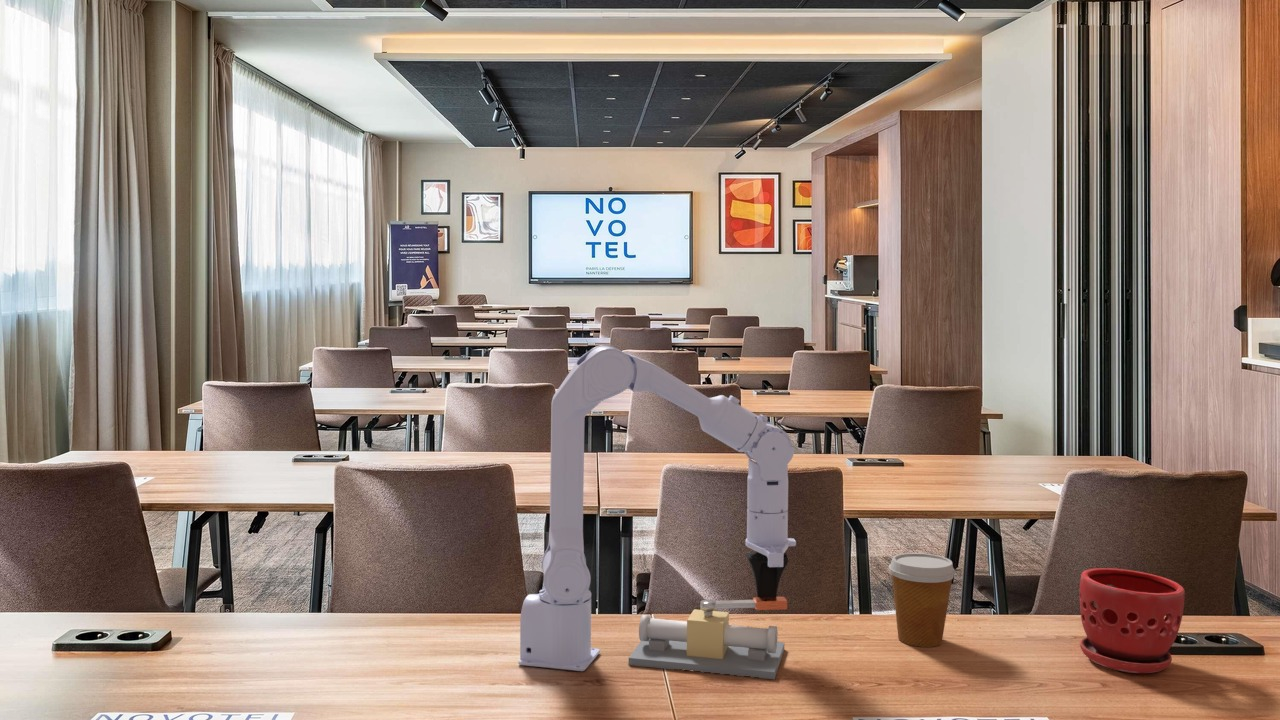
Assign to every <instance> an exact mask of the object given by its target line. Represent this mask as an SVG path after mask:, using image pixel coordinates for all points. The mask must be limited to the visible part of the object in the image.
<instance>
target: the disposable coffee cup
mask: <svg viewBox="0 0 1280 720" xmlns="http://www.w3.org/2000/svg"><path fill="white" fill-rule="evenodd" d="M953 565H954V564H953V561H952V560H951V559H950V558H948V557H944V556H942V555H941V556H940V555H938V554H937V555H936V554H931V553H923V552H921V553H920V552H904V553H897V554H896V555H893V556H892V558H891V562H890V564H889V565H888V569H889V572H890V574H891V578H892V580H891V581H892V589H893V599H894V606H895V607H894V608H895V609H894V611H895V619H896V628H897V638H898V640H899V641H900V642H902V643H903V644H906V645H910V646H914V647H918V648H919V647H920V648H931V647H932V648H933V647H936V646H941V644H943V638H944V631H945V625H946V619H947V613H948V607H949V600H950V599H949V598H950V593H951V588H952V587H951V586H952V581H953V579H954V576H955V575H956V569H955V568H954V566H953Z"/></svg>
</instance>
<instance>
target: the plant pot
mask: <svg viewBox="0 0 1280 720" xmlns="http://www.w3.org/2000/svg"><path fill="white" fill-rule="evenodd" d="M1111 585H1112V586H1111ZM1078 592H1079V596H1078V597H1079V607H1080V608H1079V609H1080V619H1081V620H1080V621H1081V623H1082V627H1083V630H1084V633H1085V635H1086V637H1083V638H1082V639H1081V640H1080V642H1079V647H1080V650H1081V651H1082V652H1083V653H1082V654H1084V655H1085V656H1086V658H1088V659H1089V660H1091V661H1092V662H1093V664H1095V665H1099V666H1101V667H1102V666H1103V667H1104V668H1107V669H1111V670H1115V671H1119V672H1122V673H1127V674H1128V673H1130V674H1151V673H1158V672H1161V671H1163V670H1165V669H1167V668H1168V667H1169V666H1170V665H1171V663H1172V661H1173V657H1172V654H1171V653H1170V649H1171V647H1172V646H1173V645H1174V643H1175V641H1176V639H1177V637H1178V633H1179V630H1180V627H1181V625H1182V620H1183V616H1184V615H1183V614H1184V607H1185V595H1186V594H1185V593H1186V590H1185V589H1184V587H1183V586H1182V585H1180V584H1179V583H1178V582H1177V581H1174V580H1172V579H1169V578H1167V577H1164V576H1160V575H1155V574H1152V573H1148V572H1142V571H1138V570H1137V571H1136V570H1131V569H1124V568H1123V569H1121V568H1114V567H1113V568H1111V567H1110V568H1109V567H1108V568H1105V567H1104V568H1102V567H1101V568H1100V567H1099V568H1090V569H1086V570H1084V571H1082V573H1081V575H1080V582H1079V591H1078ZM1094 603H1095V604H1096V606H1095V605H1094Z"/></svg>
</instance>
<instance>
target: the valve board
mask: <svg viewBox="0 0 1280 720" xmlns="http://www.w3.org/2000/svg"><path fill="white" fill-rule="evenodd" d="M729 617H730V613H729V611H718V610H715V611H710V612H708V611H702V610H701V609H693V610H692V612H691V614H690V615H689V616H688V617H687V620H685V621H684V620H673V619H662V618H653V617H652V616H651V615H650V614H642V615H641V617H640V620H639V625H638V637H639V641H640V642H639V643H638V645H637V646H636V647H635V648H634V650H633V651H632V653H631V654H630V656H628V666H635V667H644V668H646V667H648V668H653V669H654V668H655V669H656V668H657V669H665V670H674V669H678V670H677V671H680V670H679V669H682V670H681V671H684V670H683V669H685V670H693V671H692V672H694V671H702V672H701V673H704V672H711V673H710V674H714V673H720V674H719V675H724V674H730V675H729V676H734V675H737V676H738V677H744V676H752V677H751V678H754V677H759V678H758V679H764V680H765V679H767V680H774V681H775V679H776V676H777V673H778V669H779V667H780V664H781V661H782V657H783V654H784V652H785V642H781V641H778V636H779V634H778V626H774V625H769V626H768V627H767V628H766V627H765V628H763V627H752V626H742V625H733V624H732V625H730V624H729V623H730V622H729V620H730V619H729ZM737 676H736V677H737Z"/></svg>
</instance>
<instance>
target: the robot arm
mask: <svg viewBox="0 0 1280 720" xmlns="http://www.w3.org/2000/svg"><path fill="white" fill-rule="evenodd" d="M627 389H629V390H631V391H632V392H634V393H636V392H639V393H640V392H652V393H654V394H657V396H659V397H661V398H663V399H665V400H667V401H669V402H670V403H673V404H674V405H676V406H677V407H679V408H682V409H683V410H685V411H686V412H689V413H691V414H692V415H694V416H696V417H697V419H698V421H699V426H700V429H701V431H702V432H704V433H706V434H707V435H709V436H711V437H712V438H714V439H716V440H718V441H720V442H722V444H725V445H726V446H728V447H730V448H732V449H733V450H734V451H737V452H739V453H744V454H745V455H746V457H747V458H748V462H747V463H748V464H747V465H748V469H747V470H748V472H747V474H748V475H747V480H746V481H747V485H746V487H747V488H746V489H747V493H746V495H747V497H746V499H747V501H746V503H747V506H746V507H747V509H746V512H747V513H746V538H745V546H746V547H747V548H748V549H751V550H753V551H755V552H747V553H746V554H745V556H746V558H747V561H748V562H749V566H750V567H751V570H752V574H753V579H754V585H755V590H756V591H755V592H756V597H777V595H778V590H779V584H780V580H781V577H782V575H783V572H784V570H785V569H786V567H787V566H788V563H789V558H788V554H787V553H786V551H787V550H788V548H789V547H796V546H797V541H796V540H795V538H792V537H789V535H788V534H789V533H788V528H789V527H788V526H789V525H788V523H789V522H788V521H789V474H788V473H789V472H788V471H789V470H788V469H789V468H788V467H789V466H788V465H789V463H790V462H791V461H792V459H793V457H794V454H795V449H796V448H795V447H793V443H792V440H791V438H790V435H789V434H788V433H787V432H786V431H785V430H783V429H781V428H779V427H777V426H776V425H774V424H773V423H772V422H770V421H768V417H767V416H765V415H763V414H759V415H757V414H756V413H754V412H752V411H750V410H749V409H747V408H745V407H744V406H742V405H740V404H739V403H740V401H741V400H740V399H738V398H737V397H735V396H733V395H729V397H727V396H726V395H723V394H720V395H717V396H713V397H708V396H706V395H705V394H703V393H702V392H700V391H699V390H697V389H695V388H693V387H692V386H690V385H689V384H687V383H686V382H684V381H682V380H681V379H679V378H678V377H676V376H674V375H673V374H671V373H670V372H668V371H667V370H666V369H665V370H664V369H663V368H661V367H660V366H658V365H656V364H654V363H653V362H650V361H648V360H646V359H643V358H641V357H639V356H635V355H633V354H630V353H627V352H624V351H622V350H620V349H618V348H616V347H615V346H612V345H609V344H601V345H597V346H595V347H592V348H591V349H590V350H588V351H587V352H586V353H584V354H582V356H580V357H579V358H578V359H576V361H575V362H574V365H573V366H572V368H571V370H570V371H569V372H568V374H567V375H566V377H565V379H564V380H563V381H562V383H561V385H560V386H559V387H558V388H557V390H556V392H555V393H553V397H552V398H551V404H550V405H551V407H550V409H551V413H550V417H551V419H550V425H551V426H550V476H549V477H550V478H549V481H550V482H549V483H550V485H549V486H550V489H549V491H550V492H549V493H550V494H549V529H548V544H547V548H546V550H545V551H544V553H543V556H542V558H541V559H542V560H541V569H542V572H543V587H542V589H540V590H539V591H538V592H539V593H530V594H527V595H526V597H525V598H524V600H523V603H522V607H521V612H520V620H519V621H520V623H519V625H520V628H519V629H520V630H519V631H520V632H519V634H520V635H519V636H520V639H519V640H520V641H519V642H520V644H519V645H520V650H519V651H520V652H519V654H520V656H519V660H518V661H517V663H518V665H519V666H527V667H529V666H530V667H539V668H545V669H546V668H548V669H558V670H565V671H566V670H568V671H577V672H585V670H587V668H588V667H589V666H590V665H591V663H593V661H594V660H595V659H596V657H597V656H598V655H599V654H600V653H601V649H600V648H596V647H595V648H594V647H592V645H591V644H592V592H591V590H590V586H591V572H590V570H589V568H588V566H587V559H586V556H585V553H584V552H585V546H584V543H585V542H584V486H585V485H584V481H585V480H584V479H585V478H584V477H585V474H584V472H585V467H584V466H585V417H586V416H587V415H588V414H590V412H592V411H593V410H594V409H595V408H596V407H597V406H599V404H601V402H603V401H605V400H609V399H610V398H612V397H613V398H614V397H616V396H618V395H619V394H621V393H624V391H626V390H627Z"/></svg>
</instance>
